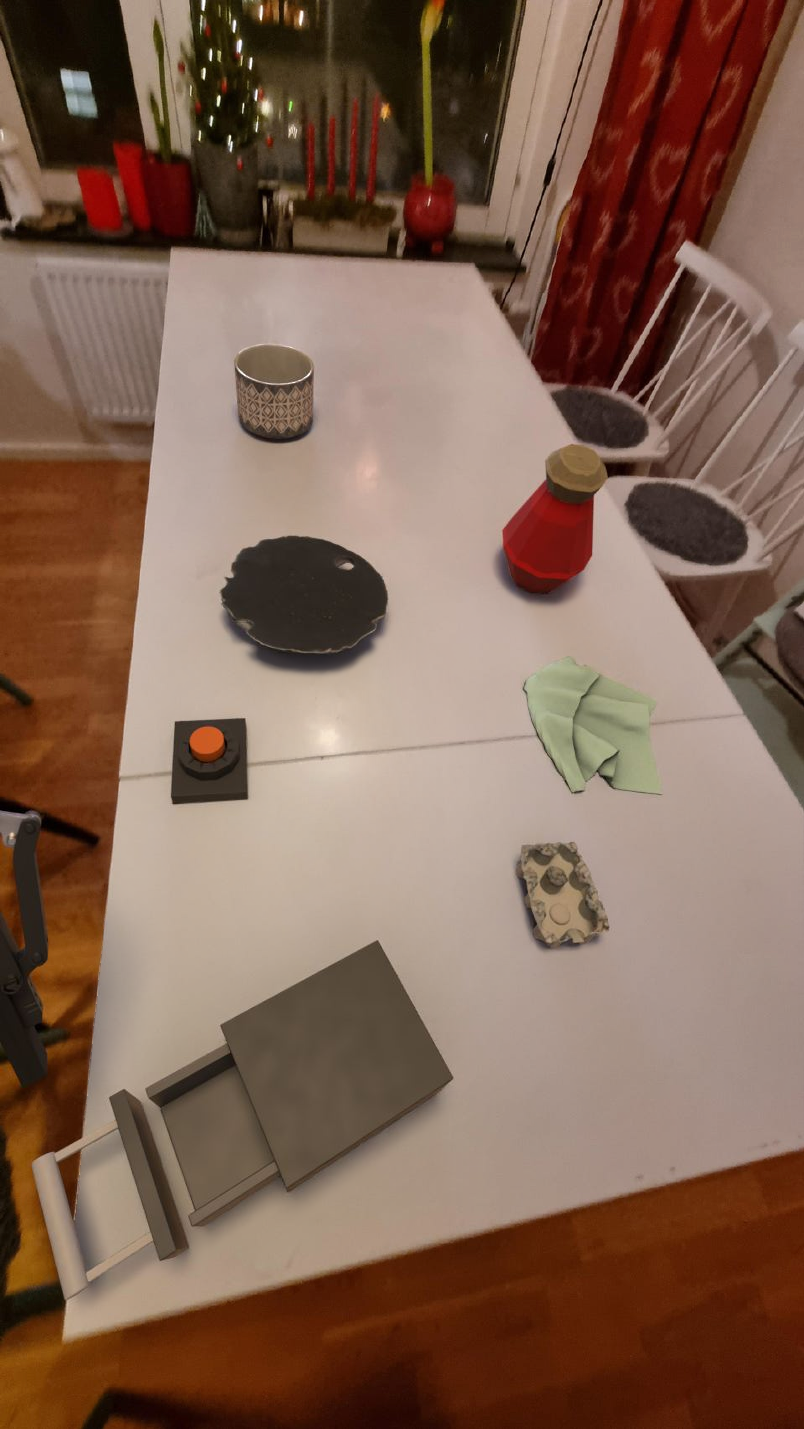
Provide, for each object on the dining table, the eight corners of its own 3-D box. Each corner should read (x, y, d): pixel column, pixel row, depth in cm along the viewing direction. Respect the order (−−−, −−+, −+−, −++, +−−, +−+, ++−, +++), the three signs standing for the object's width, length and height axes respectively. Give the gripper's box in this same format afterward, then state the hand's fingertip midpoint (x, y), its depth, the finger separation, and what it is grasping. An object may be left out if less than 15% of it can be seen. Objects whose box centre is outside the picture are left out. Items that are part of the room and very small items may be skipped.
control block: (247, 799, 77) (245, 783, 75) (172, 804, 76) (168, 788, 73) (246, 725, 83) (244, 708, 80) (176, 729, 82) (172, 711, 79)
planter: (262, 395, 125) (260, 336, 117) (325, 418, 123) (327, 359, 115) (224, 428, 118) (218, 368, 110) (290, 453, 116) (289, 393, 108)
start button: (225, 761, 76) (223, 752, 75) (191, 763, 76) (189, 754, 74) (225, 734, 78) (223, 725, 77) (192, 736, 78) (190, 727, 76)
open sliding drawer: (89, 1312, 51) (63, 1323, 45) (47, 1152, 56) (20, 1145, 50) (332, 1153, 58) (335, 1146, 53) (275, 1025, 63) (273, 1007, 58)
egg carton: (599, 946, 72) (614, 933, 69) (531, 952, 71) (542, 939, 68) (573, 851, 79) (586, 835, 75) (510, 855, 77) (519, 839, 74)
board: (352, 549, 104) (354, 522, 100) (410, 656, 93) (415, 629, 89) (204, 577, 97) (200, 548, 93) (248, 696, 86) (246, 669, 82)
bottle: (502, 530, 111) (537, 413, 95) (584, 553, 110) (634, 439, 94) (482, 594, 102) (517, 477, 85) (572, 620, 101) (624, 506, 85)
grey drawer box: (287, 1192, 57) (286, 1188, 50) (228, 1046, 63) (219, 1024, 56) (436, 1094, 62) (454, 1078, 56) (369, 967, 68) (377, 939, 61)
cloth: (556, 643, 97) (561, 631, 96) (700, 726, 92) (708, 716, 90) (481, 735, 87) (485, 724, 85) (638, 836, 81) (647, 826, 79)
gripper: (1, 706, 47) (128, 996, 53) (-230, 779, 42) (-63, 1091, 48) (-9, 718, 40) (137, 1049, 46) (-285, 806, 35) (-84, 1165, 41)
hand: (35, 1070), depth 47 cm, fingers closed
